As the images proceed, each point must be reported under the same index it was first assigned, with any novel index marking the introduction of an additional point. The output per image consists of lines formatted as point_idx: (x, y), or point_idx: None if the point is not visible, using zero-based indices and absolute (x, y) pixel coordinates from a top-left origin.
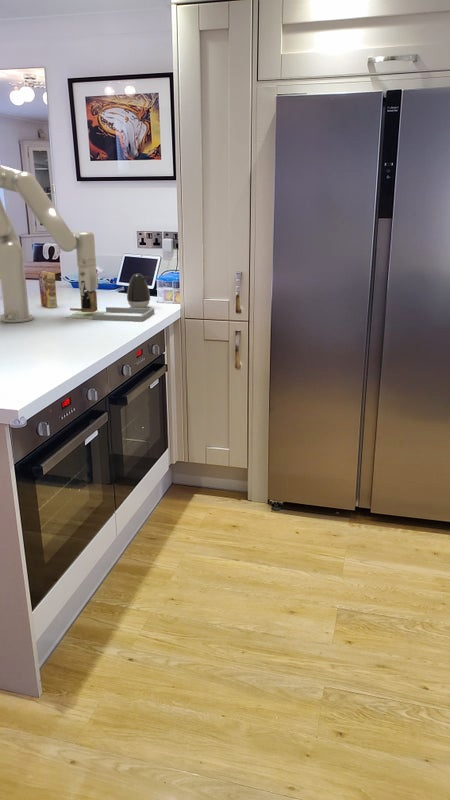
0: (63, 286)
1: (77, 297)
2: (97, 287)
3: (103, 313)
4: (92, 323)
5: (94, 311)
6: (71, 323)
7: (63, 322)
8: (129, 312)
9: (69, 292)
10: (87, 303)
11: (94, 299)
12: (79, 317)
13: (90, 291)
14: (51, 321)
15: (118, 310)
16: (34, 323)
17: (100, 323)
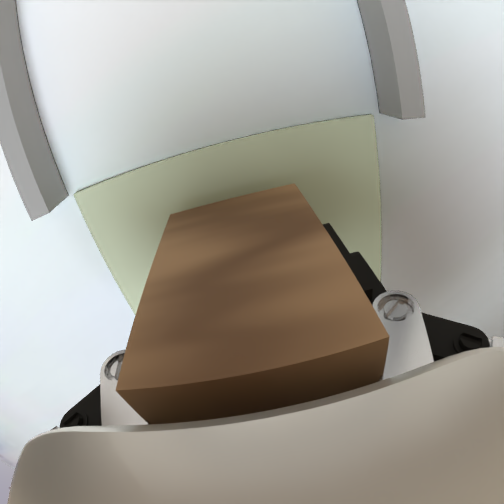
0: (6, 461)
1: (16, 434)
2: (54, 447)
3: (123, 174)
4: (485, 62)
5: (253, 193)
6: (500, 190)
7: (481, 245)
8: (14, 11)
9: (13, 452)
10: (365, 266)
11: (240, 270)
12: (376, 237)
13: (468, 351)
14: (457, 308)
15: (21, 93)
16: (481, 329)
17: (470, 11)
